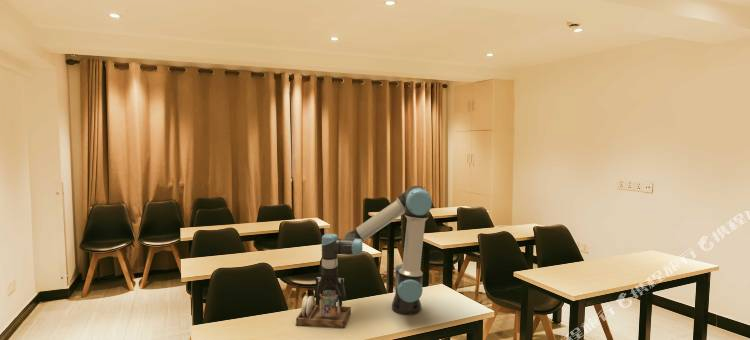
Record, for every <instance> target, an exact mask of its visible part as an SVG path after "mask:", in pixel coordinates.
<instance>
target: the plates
mask: <svg viewBox="0 0 750 340" xmlns="http://www.w3.org/2000/svg"><path fill="white" fill-rule="evenodd" d="M313 298H314V297H313V296H312V295H310V296H307V295H304V296H303V299H302V302H301V310H300V312H301V311H302V317H306V315H307V317H308V318H309V316H310V313H312V310H313V305H314V299H313Z"/></svg>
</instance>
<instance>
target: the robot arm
mask: <svg viewBox="0 0 750 340" xmlns="http://www.w3.org/2000/svg"><path fill="white" fill-rule="evenodd" d="M432 205H433V199H432V197H431V194H430V193H429V192H428V191H427V190H426V189H425V188H424V187H423V186H419V185H413V186H410V187H409V188H407V189H406V190H405V191H403V192H402V193H401V194H400V195H398V196H396V200H394V201H393V202H392V203H390V204H389V205H387V206H386V207H385V208H383V209H381V210H380V211H379V212H377V213H376V214H375V215H373V216H372V217H370V218H368V219H367V220H365V221H364V222H363V223H362V224H360V225H358V226H357V227H356V228H354V229H352V230H350V231H348V232H347V233H345V235H344V237H343V238H339V236H338V235H337V234H336V233H325V234H323V235H322V236H321V276H320V277H319V276H316V278H315V286H314V287H315V288H314V292H313V298H314V299H316V300H317V305H318V306H320V313H321V311H322V299H321V297H320V293H321V295H322V293H323V291H325V289H326V287H332V288H333V289H334V290H335V292H336V294H337V295H338V294H339V295H338V298H337V302H336V306H337V312H338V314H339V313H340V307H341V306H343V301H344V300H345V299H346V298H347V293H346V289H345V283H344V282H345V278H344V277H342V278H341V277H339V276H338V275H339V274H338V271H339V269H338V265H339V264H338V255H339V256H340V255H341V256H342V255H345V256H346V255H348V256H349V255H350V256H351V255H352V256H353V255H354V256H356V255H357V256H358V255H359V256H360V255H362V254H363V242H364V241H366V240H368V239H369V238H370V237H372V236H373V235H375V234H376V233H377V232H378V231H380V230H381V229H383V228H384V227H386V226H387V225H389V224H390V223H392V222H393V221H395V220H396V219H398V218H399V217H401V216H402V215H404V217H405V218H406V229H405V237H404V245H403V246H404V247H403V256H402V257H403V259H402V264H397V265H396V266H395V271H394V272H395V293H394V297H393V300H392V303H391V310H392V311H393V312H394V313H397V314H401V315H416V314H419V313H420V312H421V311H422V304H421V301H420V298H421V297H422V295H423V284H422V283H423V277H424V276H423V275H424V272H422V271H423V270H421V264H422V256H423V255H422V254H423V245H424V237H425V227H426V222H427V220H428V219H429V217H430V210H431V208H432ZM321 281H322V282H323V284H322V286H321V287H322V288H321V289H320V291H319V288H320V287H319V286H320V283H321ZM337 282H338V283H339V285H340V289H339V286H338V284H337ZM318 293H319V294H318Z"/></svg>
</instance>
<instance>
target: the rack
mask: <svg viewBox="0 0 750 340" xmlns="http://www.w3.org/2000/svg"><path fill="white" fill-rule="evenodd" d="M336 307H337V305H336ZM351 309H352V308H351V306H343V305H342V306H341V307H340V313H339V314H337V315H336V316H334V317H324V316H322V315H321V313H320V306H318V304H313V310H312V313H310V316H309V318H308V317H307V315H306V317H302V311H301V310H300V312H299V314H298V315H297V317H296V318H295V319H296V320H295V322H296V323H295V325H296V326H297V327H309V328H311V327H312V328H329V329H331V328H332V329H346V326H347V324H348V322H349V319H350V316H351V314H352V313H351V312H352V310H351Z"/></svg>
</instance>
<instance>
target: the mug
mask: <svg viewBox="0 0 750 340" xmlns="http://www.w3.org/2000/svg"><path fill="white" fill-rule="evenodd" d="M319 293H320V292H319ZM338 295H339V294H338ZM338 295H337V294H336V292H335V289H334V290H333V289H326V290H325V289H324V291H323V293H322V295H321V293H320V297H321V299H322V311H321V315H322V316H324V317H334V316H336V315H337V314H338V312H337V307H336V306H337V301H338Z"/></svg>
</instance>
